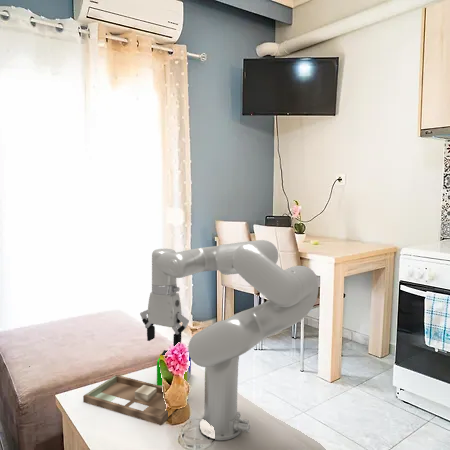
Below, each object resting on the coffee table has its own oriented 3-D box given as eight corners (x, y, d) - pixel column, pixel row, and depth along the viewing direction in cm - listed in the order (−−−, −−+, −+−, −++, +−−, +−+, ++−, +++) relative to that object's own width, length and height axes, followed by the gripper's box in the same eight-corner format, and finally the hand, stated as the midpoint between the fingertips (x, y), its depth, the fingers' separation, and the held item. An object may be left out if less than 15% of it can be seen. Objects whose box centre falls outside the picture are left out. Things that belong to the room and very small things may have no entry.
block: (156, 395, 133) (156, 387, 133) (147, 402, 128) (147, 395, 128) (143, 391, 135) (143, 384, 135) (134, 398, 130) (134, 391, 130)
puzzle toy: (190, 377, 149) (190, 351, 148) (185, 391, 139) (185, 363, 138) (164, 376, 150) (164, 350, 149) (156, 389, 140) (156, 361, 139)
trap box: (188, 403, 131) (188, 393, 131) (160, 430, 117) (160, 418, 116) (116, 384, 143) (116, 374, 143) (83, 406, 128) (83, 395, 128)
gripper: (194, 289, 125) (193, 343, 127) (148, 283, 132) (148, 333, 134) (181, 295, 118) (181, 352, 120) (133, 288, 125) (134, 341, 127)
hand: (163, 342), depth 127 cm, fingers open, 9 cm apart
